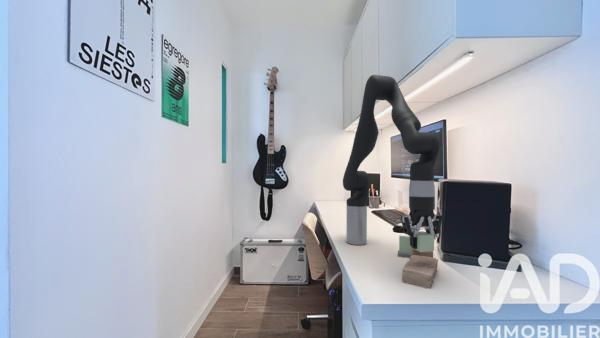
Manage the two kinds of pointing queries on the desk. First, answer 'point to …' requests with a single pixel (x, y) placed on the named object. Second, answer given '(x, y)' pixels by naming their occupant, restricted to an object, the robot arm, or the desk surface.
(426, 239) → the green block
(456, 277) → the desk surface
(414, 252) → the walnut block
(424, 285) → the brick
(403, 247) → the green and grey bar
